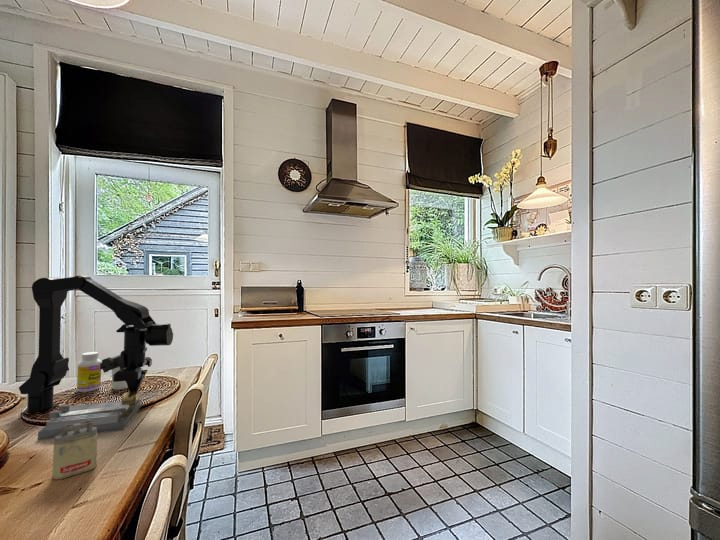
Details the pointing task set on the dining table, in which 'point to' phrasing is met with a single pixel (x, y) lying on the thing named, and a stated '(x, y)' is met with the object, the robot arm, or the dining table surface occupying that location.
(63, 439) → the pale red-labelled box
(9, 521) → the dining table surface
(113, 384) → the white cup
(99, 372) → the supplement bottle
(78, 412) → the strap
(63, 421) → the grey stone tray
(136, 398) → the pale yellow lumpy block
